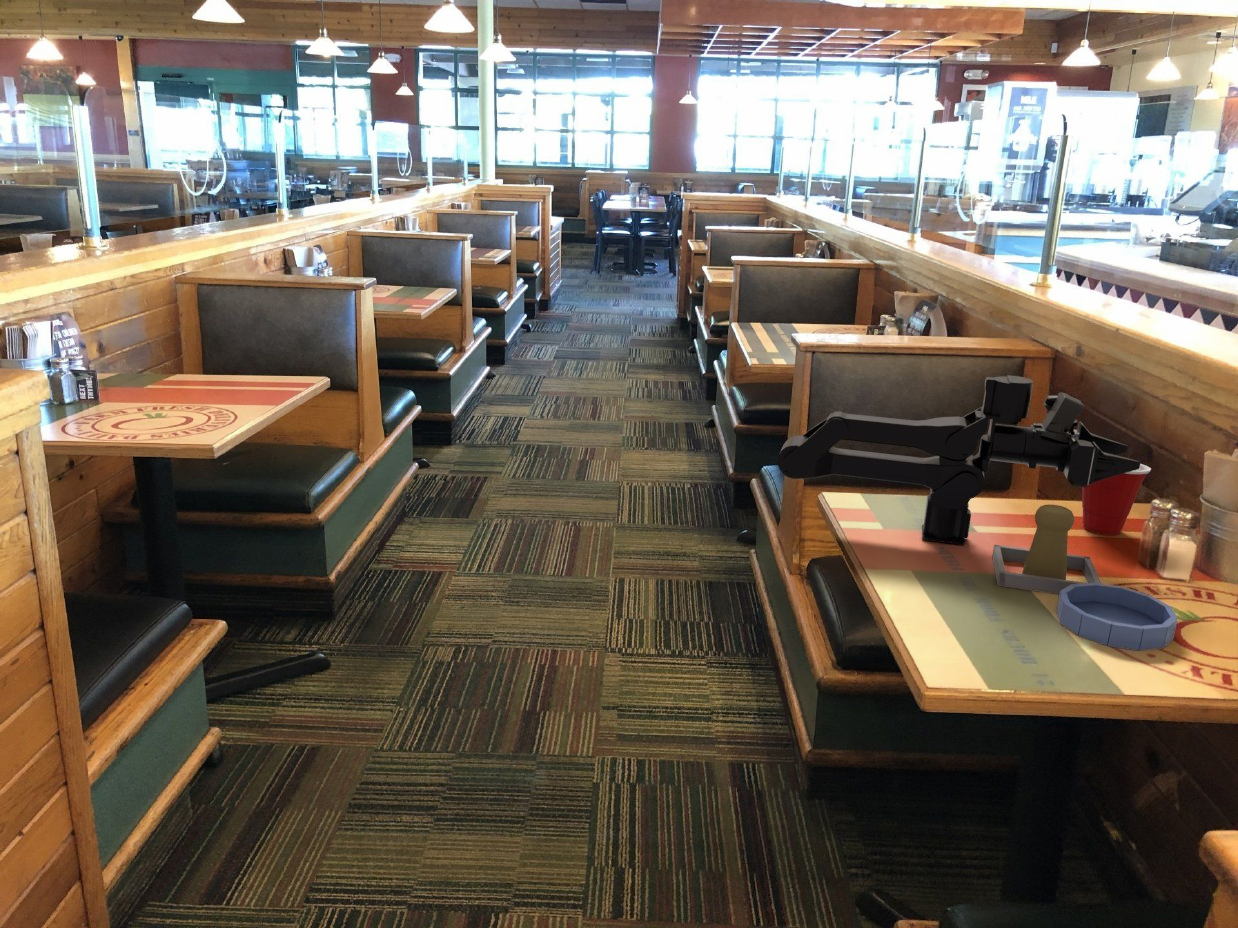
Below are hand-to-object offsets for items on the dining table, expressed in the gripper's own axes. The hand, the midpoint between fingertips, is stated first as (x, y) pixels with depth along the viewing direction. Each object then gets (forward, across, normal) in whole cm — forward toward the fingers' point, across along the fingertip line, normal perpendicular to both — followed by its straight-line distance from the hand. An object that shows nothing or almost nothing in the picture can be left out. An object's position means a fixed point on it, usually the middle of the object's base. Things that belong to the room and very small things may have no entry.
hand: (1133, 456), depth 147 cm
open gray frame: (-11, -12, +16) cm, 23 cm away
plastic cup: (+1, +14, +17) cm, 22 cm away
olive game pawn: (-11, -12, +17) cm, 24 cm away
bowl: (-4, -26, +16) cm, 31 cm away
